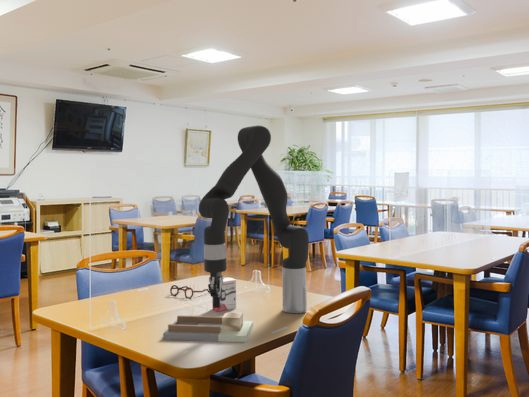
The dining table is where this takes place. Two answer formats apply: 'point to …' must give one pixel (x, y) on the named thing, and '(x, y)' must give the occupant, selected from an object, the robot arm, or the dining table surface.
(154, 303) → the dining table surface
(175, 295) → the glasses
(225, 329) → the beech block
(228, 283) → the ink box
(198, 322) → the channel deck
